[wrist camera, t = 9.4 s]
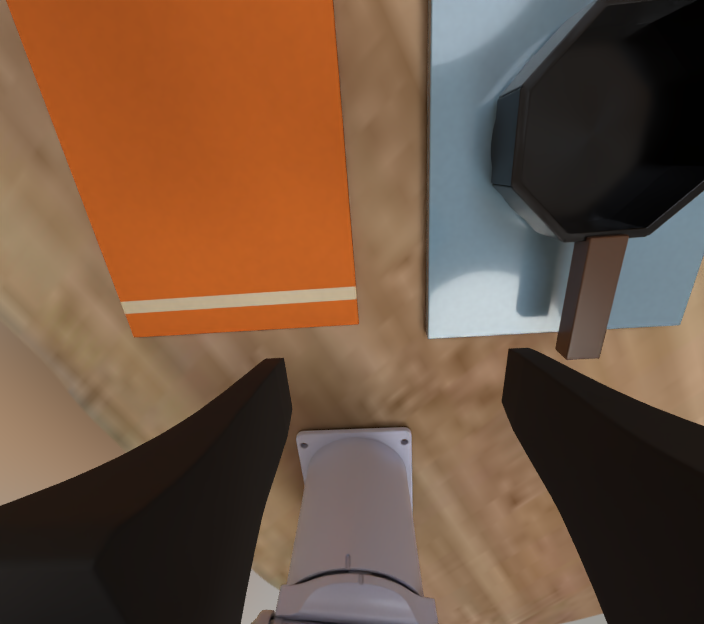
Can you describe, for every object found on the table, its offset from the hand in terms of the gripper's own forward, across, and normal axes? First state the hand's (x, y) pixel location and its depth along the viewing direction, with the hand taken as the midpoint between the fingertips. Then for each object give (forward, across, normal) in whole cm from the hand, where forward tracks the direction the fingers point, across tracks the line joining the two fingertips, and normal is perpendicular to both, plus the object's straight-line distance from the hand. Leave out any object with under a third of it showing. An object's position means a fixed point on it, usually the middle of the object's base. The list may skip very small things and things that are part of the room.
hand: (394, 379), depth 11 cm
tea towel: (+9, +9, -8) cm, 15 cm away
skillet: (+8, -9, -4) cm, 13 cm away
